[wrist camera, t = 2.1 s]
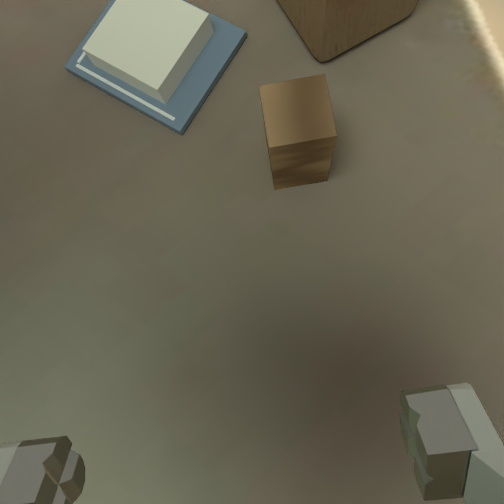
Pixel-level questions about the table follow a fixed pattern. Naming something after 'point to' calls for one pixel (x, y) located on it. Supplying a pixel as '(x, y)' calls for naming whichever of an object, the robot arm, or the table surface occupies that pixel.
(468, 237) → the table surface
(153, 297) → the table surface
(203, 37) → the foundation slab
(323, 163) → the walnut pillar
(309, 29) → the wooden block
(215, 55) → the board
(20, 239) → the table surface
